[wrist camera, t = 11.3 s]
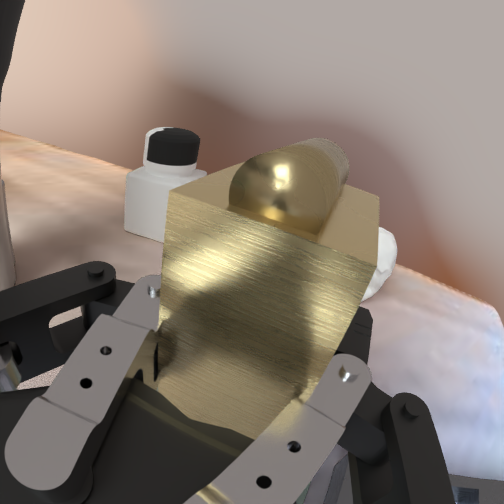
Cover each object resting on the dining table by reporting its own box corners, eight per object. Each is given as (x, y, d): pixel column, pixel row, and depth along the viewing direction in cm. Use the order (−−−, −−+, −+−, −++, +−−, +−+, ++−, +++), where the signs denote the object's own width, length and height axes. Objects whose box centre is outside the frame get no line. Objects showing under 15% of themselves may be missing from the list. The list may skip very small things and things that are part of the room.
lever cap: (160, 464, 12) (177, 129, 5) (207, 397, 16) (267, 121, 10) (237, 502, 11) (404, 199, 4) (274, 427, 15) (391, 160, 9)
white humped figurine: (405, 247, 30) (294, 219, 33) (381, 313, 34) (281, 287, 37) (399, 225, 36) (304, 201, 38) (379, 285, 40) (292, 262, 42)
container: (199, 223, 45) (215, 132, 38) (176, 248, 38) (191, 140, 32) (151, 210, 45) (161, 121, 39) (122, 231, 39) (129, 129, 32)
